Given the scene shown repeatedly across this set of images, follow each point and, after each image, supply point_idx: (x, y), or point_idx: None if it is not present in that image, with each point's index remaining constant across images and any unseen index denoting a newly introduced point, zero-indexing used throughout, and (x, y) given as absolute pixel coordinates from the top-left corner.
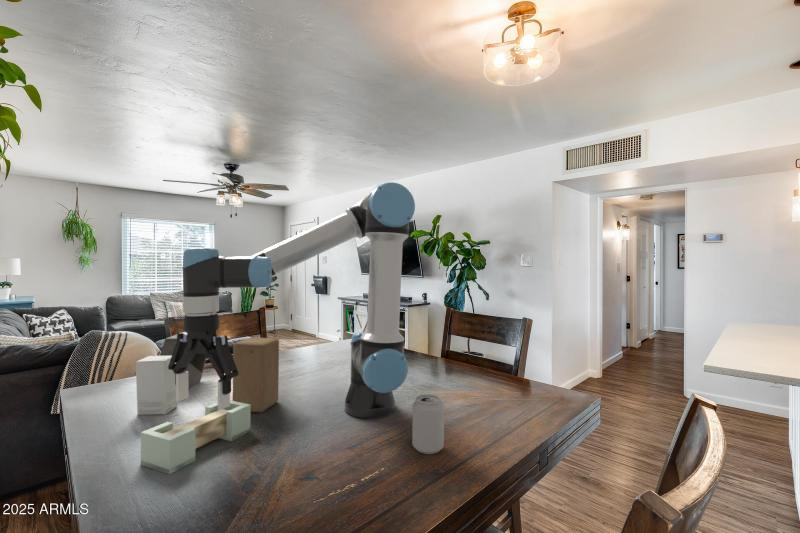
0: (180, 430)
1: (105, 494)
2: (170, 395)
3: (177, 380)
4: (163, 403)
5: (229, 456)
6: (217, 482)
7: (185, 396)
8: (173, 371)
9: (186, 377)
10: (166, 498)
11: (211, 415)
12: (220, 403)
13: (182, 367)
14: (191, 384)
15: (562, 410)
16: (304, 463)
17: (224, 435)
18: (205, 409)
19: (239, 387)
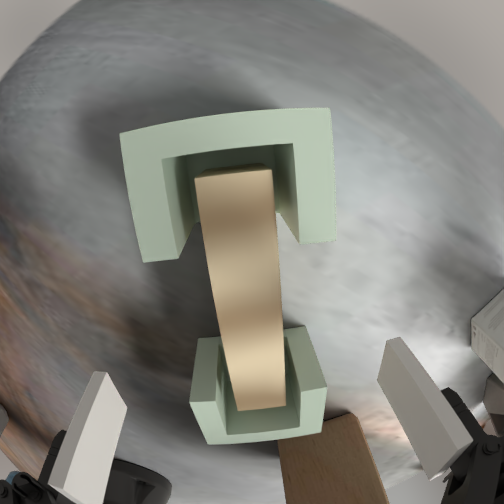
0: (232, 237)
1: (214, 6)
2: (491, 352)
3: (445, 418)
4: (489, 329)
5: (122, 286)
6: (39, 196)
7: (385, 377)
8: (496, 438)
9: (422, 452)
10: (68, 89)
11: (264, 370)
12: (85, 393)
13: (457, 493)
14: (488, 390)
15: (21, 468)
16: (13, 330)
17: None
18: (324, 380)
19: (348, 463)
